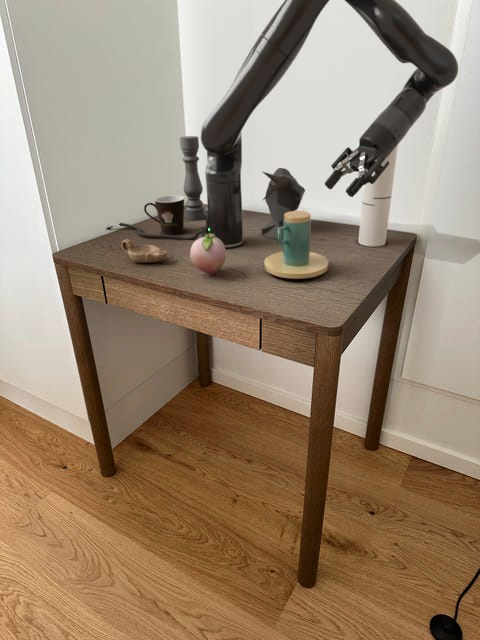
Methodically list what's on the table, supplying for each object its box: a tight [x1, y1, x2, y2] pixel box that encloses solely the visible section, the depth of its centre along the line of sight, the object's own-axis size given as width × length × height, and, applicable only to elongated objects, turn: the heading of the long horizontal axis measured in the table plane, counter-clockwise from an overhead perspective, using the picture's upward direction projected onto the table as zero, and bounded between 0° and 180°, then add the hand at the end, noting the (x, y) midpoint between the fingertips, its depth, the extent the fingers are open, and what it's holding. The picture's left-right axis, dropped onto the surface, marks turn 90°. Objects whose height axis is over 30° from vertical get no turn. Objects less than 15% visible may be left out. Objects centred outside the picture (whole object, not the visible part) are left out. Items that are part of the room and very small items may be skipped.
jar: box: [263, 210, 329, 279], centre depth 105 cm, size 15×15×12 cm
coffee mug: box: [143, 194, 185, 236], centre depth 137 cm, size 12×9×10 cm
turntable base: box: [273, 275, 320, 282], centre depth 108 cm, size 12×12×1 cm
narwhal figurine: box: [261, 167, 306, 241], centre depth 133 cm, size 14×15×18 cm
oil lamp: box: [120, 238, 168, 264], centre depth 117 cm, size 13×8×5 cm, turn 61°
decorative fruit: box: [189, 233, 227, 275], centre depth 106 cm, size 9×8×10 cm
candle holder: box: [179, 135, 206, 222], centre depth 146 cm, size 6×6×25 cm
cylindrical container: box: [357, 144, 399, 247], centre depth 119 cm, size 7×7×25 cm
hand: (337, 190), depth 104 cm, fingers open, 8 cm apart
